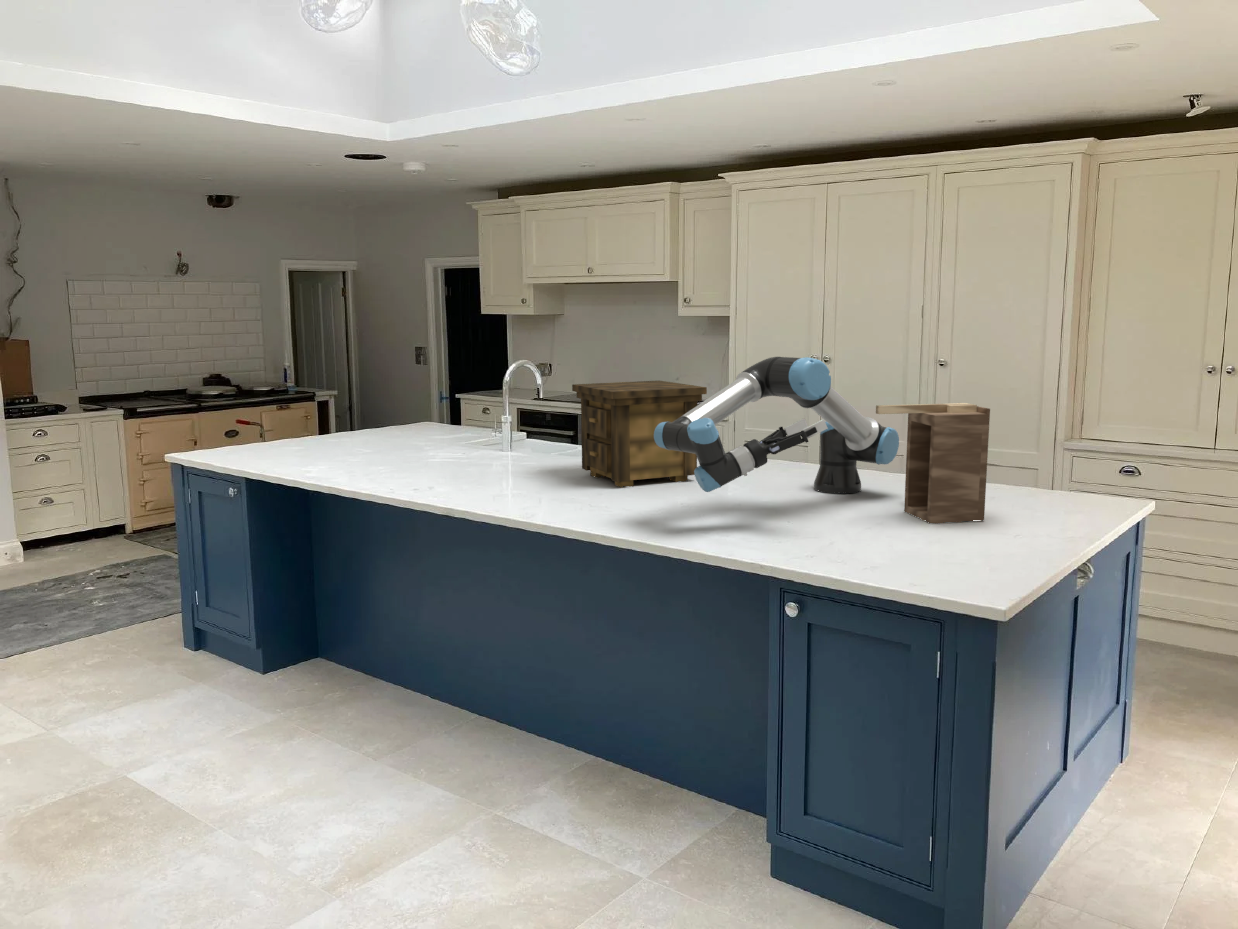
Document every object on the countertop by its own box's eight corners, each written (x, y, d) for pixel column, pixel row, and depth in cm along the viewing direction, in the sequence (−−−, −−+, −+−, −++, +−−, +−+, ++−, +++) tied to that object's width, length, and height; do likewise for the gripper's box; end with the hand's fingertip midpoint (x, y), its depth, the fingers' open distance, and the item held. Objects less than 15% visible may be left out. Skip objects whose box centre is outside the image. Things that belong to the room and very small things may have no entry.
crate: (706, 481, 330) (706, 387, 325) (613, 490, 316) (612, 391, 310) (659, 467, 362) (659, 380, 356) (573, 474, 347) (572, 384, 342)
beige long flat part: (873, 412, 268) (873, 404, 268) (966, 410, 272) (966, 402, 272) (881, 414, 263) (882, 406, 262) (976, 412, 267) (976, 404, 267)
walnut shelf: (904, 511, 280) (908, 404, 275) (955, 509, 283) (960, 402, 277) (930, 523, 264) (935, 410, 259) (984, 521, 267) (990, 408, 262)
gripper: (740, 466, 274) (803, 433, 277) (769, 472, 250) (839, 437, 252) (729, 442, 273) (793, 410, 276) (758, 446, 248) (828, 411, 251)
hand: (815, 423), depth 264 cm, fingers open, 13 cm apart
